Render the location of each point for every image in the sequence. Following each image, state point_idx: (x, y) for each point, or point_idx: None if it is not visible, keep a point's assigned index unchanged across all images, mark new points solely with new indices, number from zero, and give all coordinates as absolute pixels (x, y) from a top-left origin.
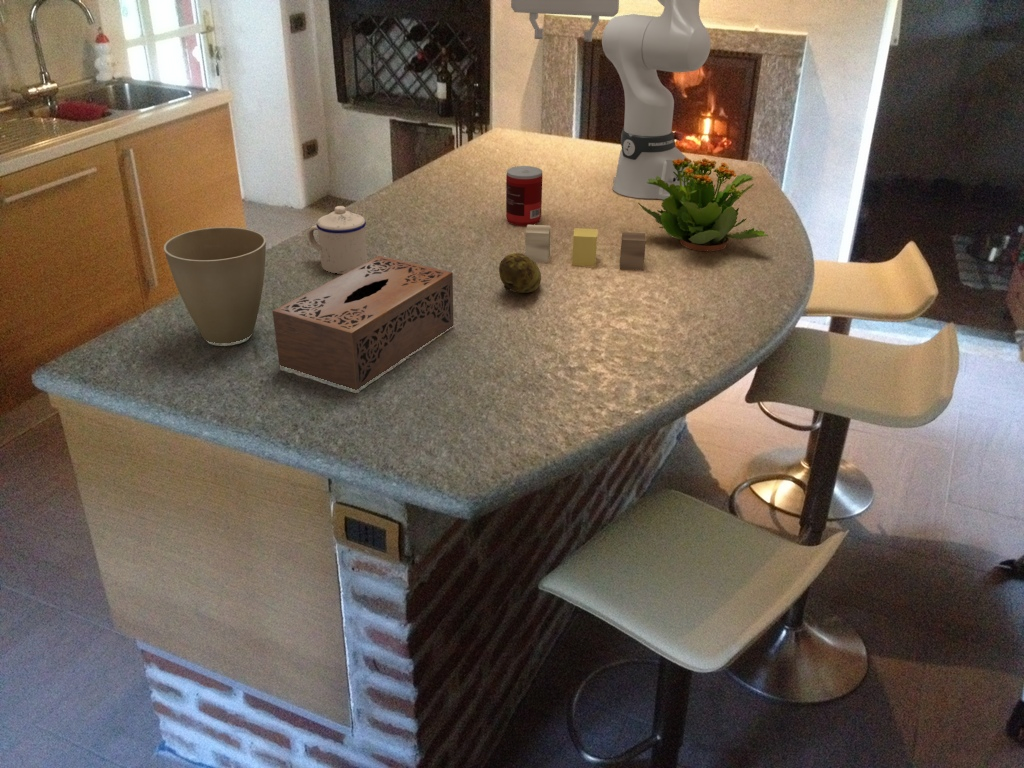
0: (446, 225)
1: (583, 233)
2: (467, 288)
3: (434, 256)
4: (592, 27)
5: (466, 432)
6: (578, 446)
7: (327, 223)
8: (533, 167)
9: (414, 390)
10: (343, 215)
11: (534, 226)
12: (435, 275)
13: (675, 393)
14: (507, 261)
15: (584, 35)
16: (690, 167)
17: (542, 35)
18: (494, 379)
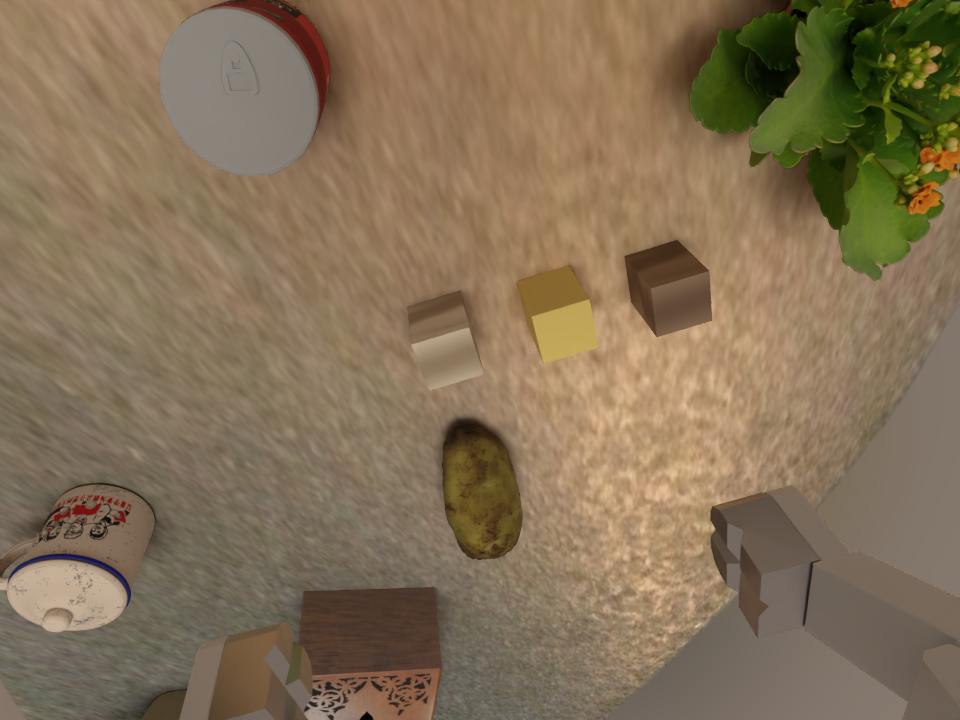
0: (89, 217)
1: (562, 340)
2: (383, 492)
3: (227, 407)
4: (874, 662)
5: (547, 702)
6: (649, 678)
7: (70, 628)
8: (242, 21)
9: (466, 684)
10: (80, 619)
11: (432, 348)
12: (423, 682)
13: None
14: (479, 559)
15: (743, 605)
16: (939, 149)
17: (289, 665)
18: (538, 643)
